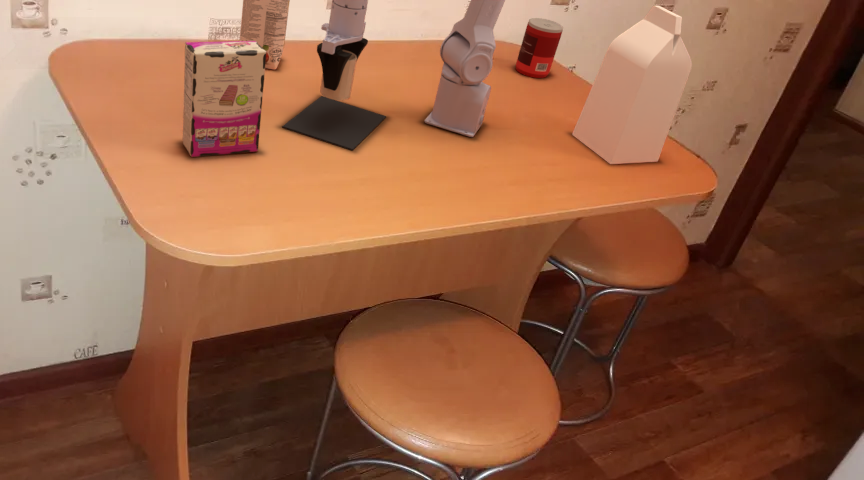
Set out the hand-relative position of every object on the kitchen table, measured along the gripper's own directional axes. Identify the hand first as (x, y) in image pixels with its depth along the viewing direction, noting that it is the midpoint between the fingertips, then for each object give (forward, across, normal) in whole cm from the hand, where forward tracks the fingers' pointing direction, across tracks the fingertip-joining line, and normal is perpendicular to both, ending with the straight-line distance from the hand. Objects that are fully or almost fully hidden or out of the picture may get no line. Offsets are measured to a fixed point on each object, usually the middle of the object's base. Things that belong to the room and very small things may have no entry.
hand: (336, 83), depth 136 cm
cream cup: (+2, 0, 0) cm, 2 cm away
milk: (+7, -27, +48) cm, 56 cm away
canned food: (+7, -57, +26) cm, 63 cm away
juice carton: (+7, -16, -22) cm, 28 cm away
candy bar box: (+7, +22, -10) cm, 25 cm away
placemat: (+7, 0, +1) cm, 7 cm away
